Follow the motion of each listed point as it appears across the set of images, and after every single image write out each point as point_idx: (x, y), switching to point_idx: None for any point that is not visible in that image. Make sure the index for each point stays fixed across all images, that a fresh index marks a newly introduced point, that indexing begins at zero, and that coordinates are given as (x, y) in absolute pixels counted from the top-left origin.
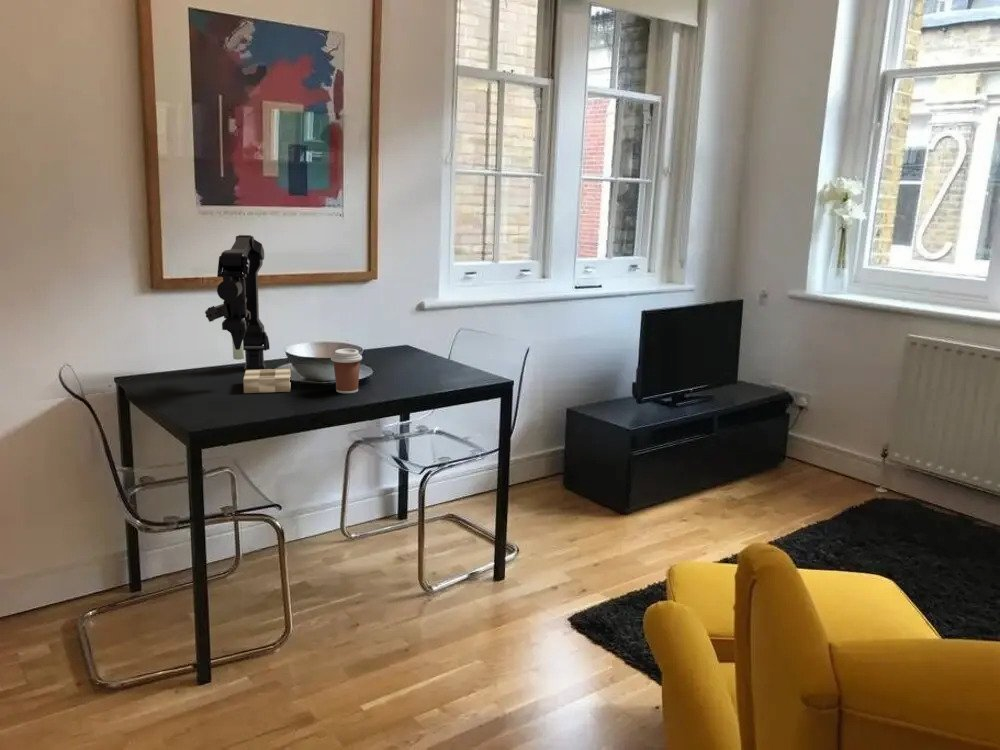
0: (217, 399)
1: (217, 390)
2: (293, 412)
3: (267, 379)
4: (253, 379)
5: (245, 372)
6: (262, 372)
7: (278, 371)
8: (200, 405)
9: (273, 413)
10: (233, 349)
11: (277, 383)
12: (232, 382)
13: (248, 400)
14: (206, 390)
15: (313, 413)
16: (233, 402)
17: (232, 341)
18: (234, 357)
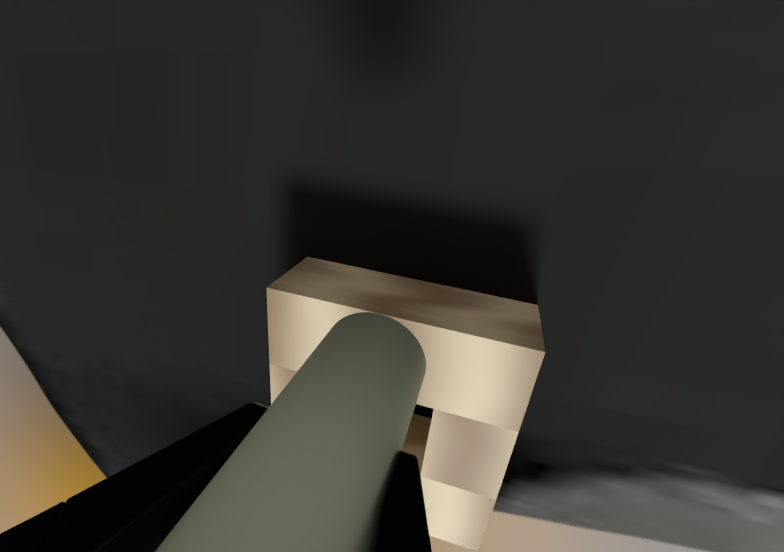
0: (201, 106)
1: (395, 110)
2: (58, 366)
3: (272, 400)
4: (269, 339)
5: (460, 333)
6: (432, 420)
7: (428, 491)
8: (91, 3)
9: (38, 310)
10: (300, 381)
11: None
12: (586, 224)
13: (184, 257)
14: (414, 27)
15: (59, 410)
16: (152, 187)
17: (248, 472)
18: (334, 328)
